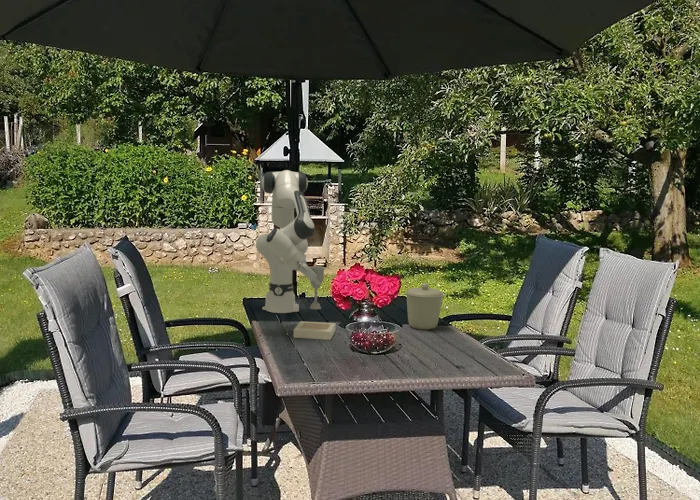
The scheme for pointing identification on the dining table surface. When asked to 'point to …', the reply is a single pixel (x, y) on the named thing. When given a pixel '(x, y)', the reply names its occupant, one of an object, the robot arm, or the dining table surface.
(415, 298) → the canister
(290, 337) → the dining table surface
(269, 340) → the dining table surface
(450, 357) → the dining table surface
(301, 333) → the tray
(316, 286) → the chalice
